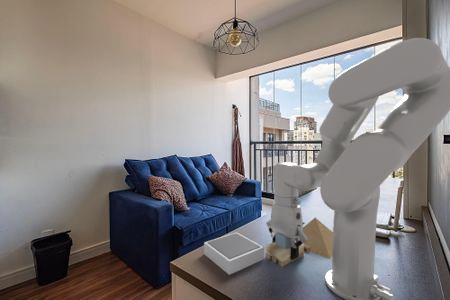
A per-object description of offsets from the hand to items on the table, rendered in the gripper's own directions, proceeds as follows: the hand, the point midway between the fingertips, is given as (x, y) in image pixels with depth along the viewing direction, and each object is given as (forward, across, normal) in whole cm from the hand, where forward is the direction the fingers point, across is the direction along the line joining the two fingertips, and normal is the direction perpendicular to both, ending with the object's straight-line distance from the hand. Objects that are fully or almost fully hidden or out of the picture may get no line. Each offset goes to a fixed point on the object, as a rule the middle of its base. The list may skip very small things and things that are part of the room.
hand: (284, 252), depth 73 cm
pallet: (+1, 0, 0) cm, 1 cm away
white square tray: (+1, +10, +14) cm, 17 cm away
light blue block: (-3, 0, 0) cm, 3 cm away
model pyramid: (+2, 0, -17) cm, 17 cm away
